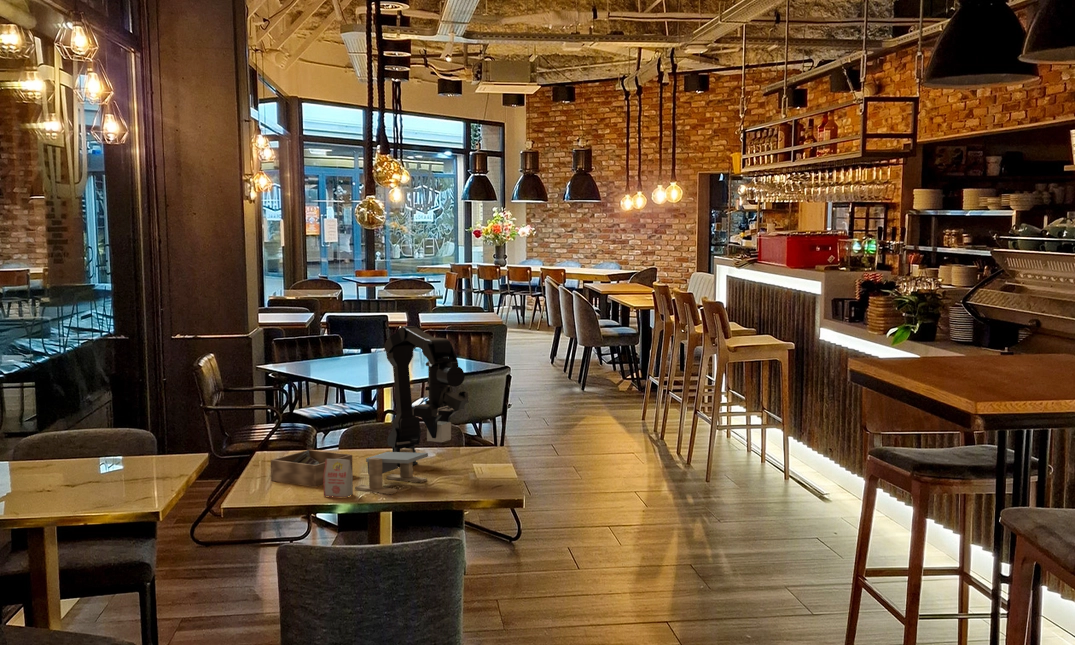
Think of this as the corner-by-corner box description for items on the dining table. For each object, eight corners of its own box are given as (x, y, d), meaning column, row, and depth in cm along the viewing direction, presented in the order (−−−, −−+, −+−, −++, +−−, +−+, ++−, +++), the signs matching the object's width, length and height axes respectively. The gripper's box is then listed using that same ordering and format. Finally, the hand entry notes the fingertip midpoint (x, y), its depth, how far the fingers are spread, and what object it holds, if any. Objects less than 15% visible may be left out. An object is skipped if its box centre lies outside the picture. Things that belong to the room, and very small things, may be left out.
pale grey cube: (427, 440, 268) (426, 423, 267) (436, 437, 272) (436, 420, 272) (442, 442, 266) (441, 424, 265) (451, 439, 270) (450, 422, 270)
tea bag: (329, 493, 254) (328, 457, 253) (352, 494, 252) (352, 458, 252) (323, 496, 250) (323, 460, 249) (347, 498, 249) (346, 461, 248)
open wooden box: (271, 480, 268) (270, 460, 268) (309, 469, 283) (308, 449, 282) (315, 486, 261) (315, 465, 260) (352, 474, 275) (352, 454, 275)
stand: (355, 489, 258) (354, 457, 257) (392, 476, 273) (392, 446, 273) (390, 494, 252) (390, 461, 252) (426, 480, 268) (426, 450, 267)
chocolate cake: (292, 485, 265) (320, 452, 270) (276, 475, 269) (303, 442, 274) (306, 500, 273) (332, 468, 278) (290, 490, 276) (316, 459, 281)
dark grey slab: (367, 474, 260) (365, 458, 260) (388, 467, 269) (387, 451, 269) (408, 476, 254) (407, 459, 254) (428, 469, 263) (427, 453, 263)
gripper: (445, 388, 256) (446, 444, 257) (478, 380, 273) (479, 433, 274) (411, 386, 261) (412, 441, 262) (446, 378, 278) (446, 430, 279)
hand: (438, 436), depth 269 cm, fingers closed on pale grey cube, 5 cm apart
